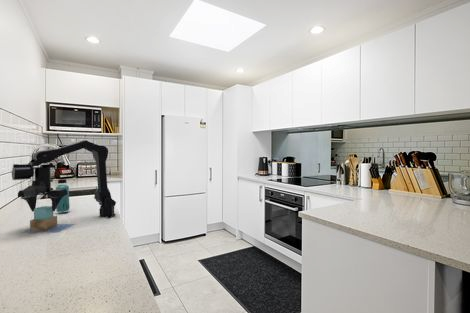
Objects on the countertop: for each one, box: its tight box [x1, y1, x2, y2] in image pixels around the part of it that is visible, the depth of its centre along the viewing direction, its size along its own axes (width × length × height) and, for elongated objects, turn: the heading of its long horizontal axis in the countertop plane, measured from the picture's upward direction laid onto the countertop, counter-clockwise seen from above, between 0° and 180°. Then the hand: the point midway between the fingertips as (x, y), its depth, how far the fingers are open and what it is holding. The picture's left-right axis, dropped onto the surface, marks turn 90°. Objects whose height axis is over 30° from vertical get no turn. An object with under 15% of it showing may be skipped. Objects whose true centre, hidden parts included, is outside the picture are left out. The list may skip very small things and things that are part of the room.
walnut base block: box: [29, 215, 58, 231], centre depth 109 cm, size 7×7×5 cm
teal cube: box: [33, 205, 54, 220], centre depth 109 cm, size 5×5×5 cm
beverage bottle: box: [55, 178, 70, 213], centre depth 139 cm, size 6×7×20 cm
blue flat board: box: [21, 223, 76, 234], centre depth 110 cm, size 16×12×1 cm
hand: (43, 211), depth 109 cm, fingers open, 9 cm apart
